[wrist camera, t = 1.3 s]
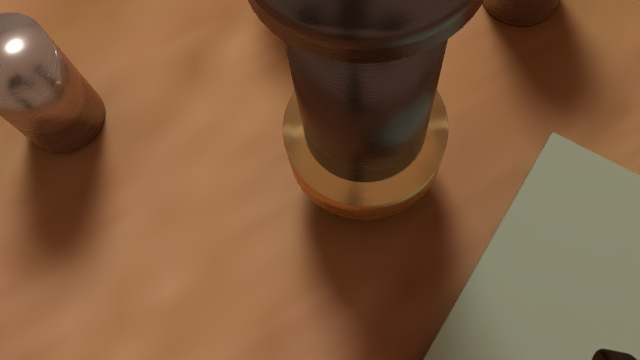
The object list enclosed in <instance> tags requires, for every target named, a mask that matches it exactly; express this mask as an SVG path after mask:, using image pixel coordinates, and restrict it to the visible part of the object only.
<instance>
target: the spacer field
mask: <svg viewBox="0 0 640 360" xmlns="http://www.w3.org/2000/svg"><path fill="white" fill-rule="evenodd" d="M558 2H559V0H484V2H483V5H484V7H485V8H486V10H487V11H488V12H489V13H490V14H491V15H492V16H493V17H494V18H496V19H497V20H499V21H501V22H503V23H505V24H508V25H512V26H531V25H535V24H538V23H540V22H542V21H544V20H545V19H547V18H548V17H549V16H550V15H551V14H552V13H553V11H554V10H555V8H556V6H557V4H558ZM0 116H2V117H3V118H4V119H5V120H6V121H8V122H9V123H10V124H11V125H13V126H14V127H15V128H16V129H18V130H19V131H20V132H21V133H23V134H24V135H25V136H26V137H28V138H29V139H30V140H31V141H32V142H34V143H35V144H36V145H37V146H39V147H40V148H41V149H43V150H45V151H47V152H50V153H55V154H66V153H71V152H74V151H77V150H79V149H81V148H83V147H85V146H86V145H88V144H89V143H90V142H91V141H92V140H93V139H94V138H95V137H96V136H97V134H98V133H99V131H100V130H101V128H102V125H103V122H104V118H105V108H104V104H103V101H102V99H101V97H100V96H99V95H98V93H97V92H96V91H95V90H94V89H93V88H92V86H91V85H90V84H89V83H88V82H87V80H86V79H85V78H84V77H83V76H82V75H81V73H80V72H79V71H78V70H77V69H76V67H75V66H74V65H73V64H72V63H71V62H70V60H69V59H68V58H67V57H66V56H65V54H64V53H63V52H62V51H61V50H60V48H59V47H58V46H57V45H56V44H55V43H54V41H53V40H52V39H51V38H50V37H49V35H48V34H47V33H46V32H45V31H44V30H43V28H42V27H41V26H40V25H39V24H38V23H37V22H36V21H35V20H34V19H32V18H30V17H29V16H26V15H23V14H19V13H1V14H0Z"/></svg>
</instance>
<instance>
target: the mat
mask: <svg viewBox="0 0 640 360" xmlns="http://www.w3.org/2000/svg"><path fill="white" fill-rule="evenodd" d="M601 348H604V349H609V350H614V351H619V352H624V353H628V354H631V355H632V356H634V357H635V358H636V359H637V360H640V176H639V175H637V174H635V173H633V172H631V171H629V170H628V169H626V168H624V167H622V166H620V165H618V164H616V163H614V162H612V161H610V160H608V159H606V158H604V157H602V156H600V155H598V154H596V153H594V152H592V151H590V150H588V149H586V148H584V147H582V146H580V145H578V144H576V143H574V142H572V141H570V140H568V139H566V138H564V137H562V136H560V135H558V134H556V133H554V132H553V133H552V134H551V135H550V137H549V138H548V140H547V142H546V144H545V145H544V147H543V149H542V151H541V152H540V154H539V156H538V158H537V159H536V161H535V163H534V165H533V167H532V168H531V170H530V172H529V174H528V175H527V177H526V179H525V181H524V182H523V184H522V186H521V188H520V189H519V191H518V193H517V195H516V196H515V198H514V200H513V202H512V204H511V205H510V207H509V209H508V211H507V212H506V214H505V216H504V218H503V219H502V221H501V223H500V225H499V226H498V228H497V230H496V232H495V233H494V235H493V237H492V239H491V240H490V242H489V244H488V246H487V248H486V249H485V251H484V253H483V255H482V256H481V258H480V260H479V262H478V263H477V265H476V267H475V269H474V270H473V272H472V274H471V276H470V277H469V279H468V281H467V283H466V285H465V286H464V288H463V290H462V292H461V293H460V295H459V297H458V299H457V300H456V302H455V304H454V306H453V307H452V309H451V311H450V313H449V314H448V316H447V318H446V320H445V321H444V323H443V325H442V327H441V329H440V330H439V332H438V334H437V336H436V337H435V339H434V341H433V343H432V344H431V346H430V348H429V350H428V351H427V353H426V355H425V357H424V358H423V360H592V358H593V355H594V354H595V352H596V351H597V350H599V349H601Z"/></svg>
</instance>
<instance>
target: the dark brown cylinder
mask: <svg viewBox="0 0 640 360" xmlns="http://www.w3.org/2000/svg"><path fill="white" fill-rule="evenodd" d="M248 2H249V4H250V5H251V7H252V9H253V11H254V12H255V13H256V15H257V16H258V17H259V19H260V20H261V21H262V22H263V23H264V24H265V25H266V26H267V27H268V28H269V29H270V30H271V31H272V32H273V33H274V34H276V35H277V36H278V37H279V38H281V39H282V40H283V41H284V42H285V47H286V52H287V56H288V61H289V66H290V70H291V75H292V79H293V84H294V89H295V91H294V93H293V94H292V96H291V98H290V100H289V103H288V105H287V107H286V111H285V115H284V122H283V137H284V143H285V148H286V151H287V154H288V158H289V161H290V164H291V167H292V171H293V174H294V176H295V178H296V180H297V182H298V184H299V185H300V187H301V188H302V190H303V191H304V192H305V194H306V195H307V196H308V197H309V198H310V199H311V200H312V201H314V202H315V203H316V204H317V205H319V206H320V207H322V208H323V209H325V210H327V211H329V212H331V213H333V214H335V215H338V216H341V217H344V218H349V219H354V220H376V219H381V218H386V217H389V216H392V215H395V214H398V213H400V212H402V211H404V210H406V209H407V208H409V207H410V206H412V205H413V204H415V203H416V202H417V201H418V200H419V199H421V198H422V196H423V195H424V194H425V193H426V192H427V191H428V189H429V188H430V186H431V185H432V183H433V182H434V180H435V178H436V175H437V173H438V170H439V167H440V164H441V160H442V157H443V154H444V151H445V148H446V144H447V139H448V118H447V113H446V109H445V106H444V103H443V101H442V99H441V96H440V95H439V93H438V91H437V90H436V89H437V84H438V80H439V76H440V71H441V67H442V62H443V58H444V54H445V49H446V45H447V40H448V38H450V37H451V36H452V35H454V34H455V33H456V32H458V31H459V30H460V29H461V28H463V26H464V25H465V24H466V23H467V22H468V21H469V20H470V19H471V18H472V17H473V16H474V15H475V13H476V12H477V10H478V9H479V8H480V6H481V5H482V3H483V2H484V0H248Z"/></svg>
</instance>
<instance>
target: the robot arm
mask: <svg viewBox="0 0 640 360" xmlns="http://www.w3.org/2000/svg"><path fill="white" fill-rule="evenodd" d="M592 360H637V359H636V358H635V357H634V356H632V355H631V354H628V353H624V352H619V351H614V350H609V349H604V348H601V349H599V350H597V351H596V352H595V354H594V355H593V358H592Z"/></svg>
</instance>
